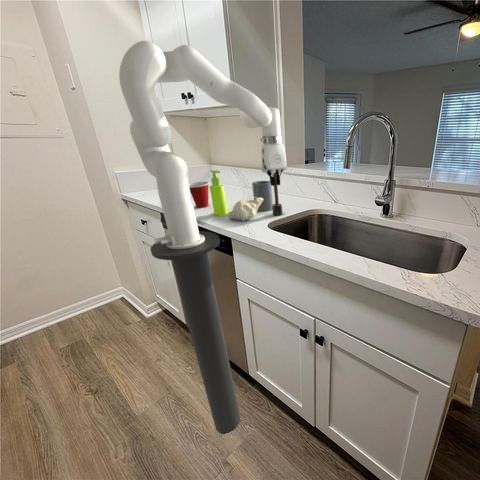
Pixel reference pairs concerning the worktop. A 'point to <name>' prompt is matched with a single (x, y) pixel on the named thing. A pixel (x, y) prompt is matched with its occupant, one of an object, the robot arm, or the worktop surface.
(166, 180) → the robot arm
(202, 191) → the plastic cup
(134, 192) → the worktop surface
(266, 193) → the gray cup
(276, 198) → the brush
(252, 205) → the cream spiral shell
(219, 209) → the soap dispenser
